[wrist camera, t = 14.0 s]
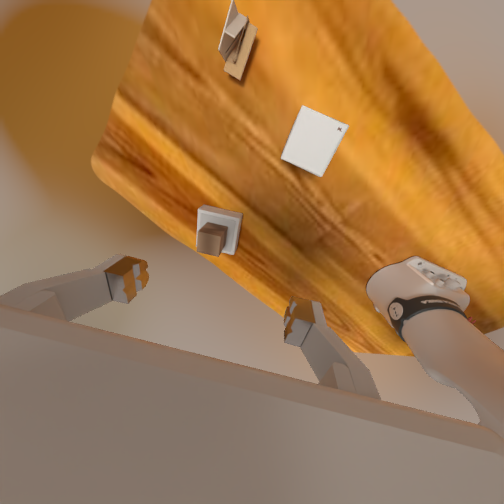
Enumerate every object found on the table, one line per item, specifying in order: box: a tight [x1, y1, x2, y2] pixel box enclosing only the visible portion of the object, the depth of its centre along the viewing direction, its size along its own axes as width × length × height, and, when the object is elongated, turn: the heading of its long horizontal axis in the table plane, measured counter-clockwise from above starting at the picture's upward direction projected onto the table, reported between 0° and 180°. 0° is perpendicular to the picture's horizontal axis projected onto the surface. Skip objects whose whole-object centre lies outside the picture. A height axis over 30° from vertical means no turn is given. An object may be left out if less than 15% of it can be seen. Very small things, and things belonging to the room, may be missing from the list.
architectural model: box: [218, 0, 258, 80], centre depth 30 cm, size 3×7×7 cm, turn 154°
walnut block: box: [197, 222, 228, 257], centre depth 43 cm, size 5×5×6 cm
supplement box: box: [281, 106, 349, 177], centre depth 33 cm, size 7×7×13 cm
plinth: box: [196, 205, 243, 255], centre depth 47 cm, size 10×10×4 cm
